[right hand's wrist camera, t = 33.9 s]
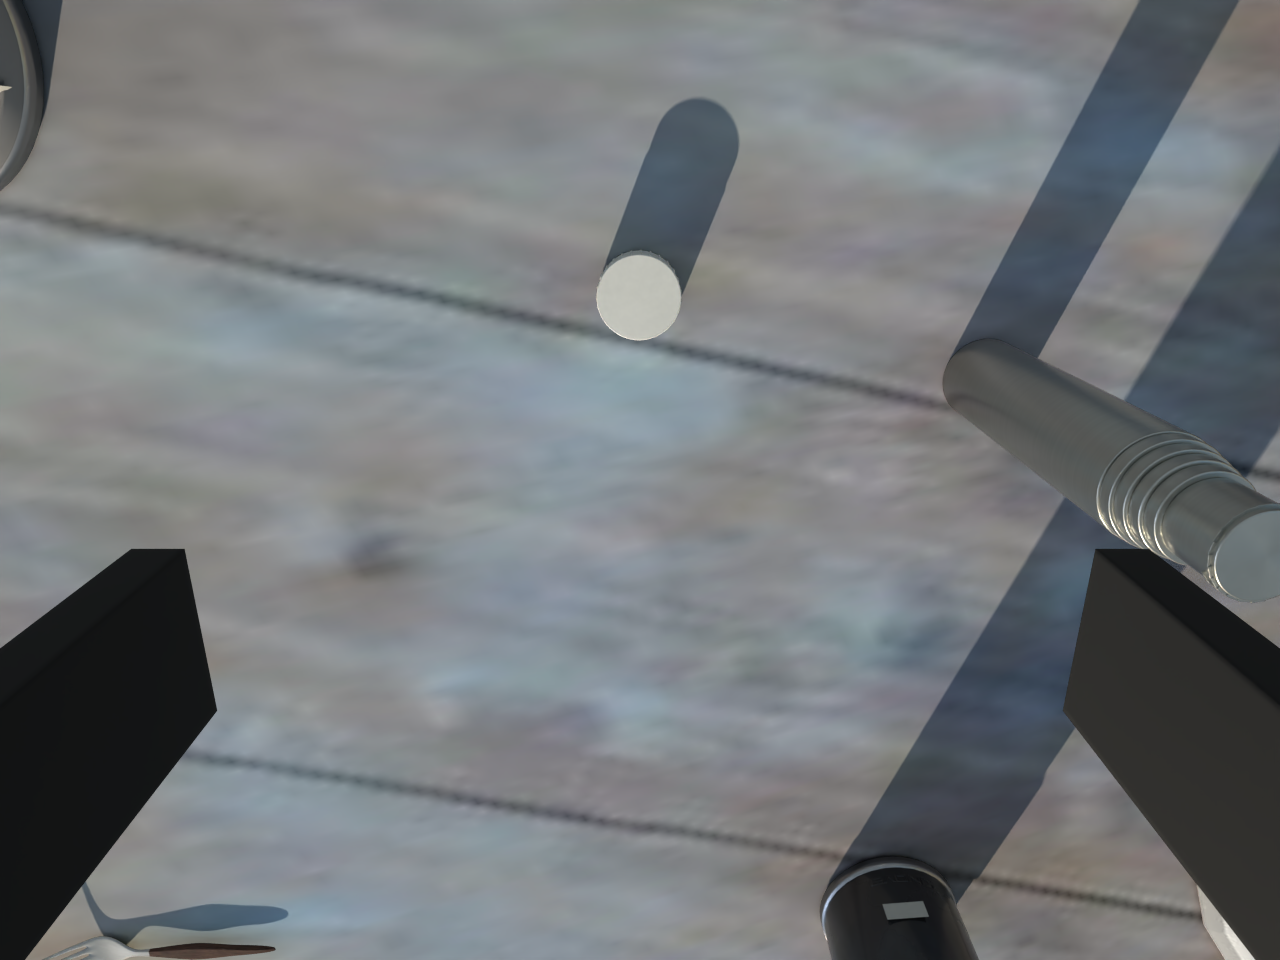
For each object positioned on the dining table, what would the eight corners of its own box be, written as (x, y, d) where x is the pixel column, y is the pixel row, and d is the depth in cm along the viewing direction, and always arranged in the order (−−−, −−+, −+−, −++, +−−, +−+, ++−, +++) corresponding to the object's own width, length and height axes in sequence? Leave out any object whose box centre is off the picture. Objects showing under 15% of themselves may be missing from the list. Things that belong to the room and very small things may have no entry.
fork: (281, 956, 63) (270, 981, 61) (65, 963, 63) (47, 987, 61) (274, 929, 62) (263, 953, 60) (55, 936, 62) (37, 960, 60)
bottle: (941, 344, 47) (1196, 499, 26) (1024, 333, 47) (1352, 478, 25) (943, 422, 49) (1185, 630, 27) (1023, 411, 49) (1332, 612, 27)
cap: (580, 284, 46) (577, 290, 44) (646, 231, 45) (647, 235, 43) (631, 349, 47) (631, 358, 45) (697, 299, 46) (699, 306, 44)
